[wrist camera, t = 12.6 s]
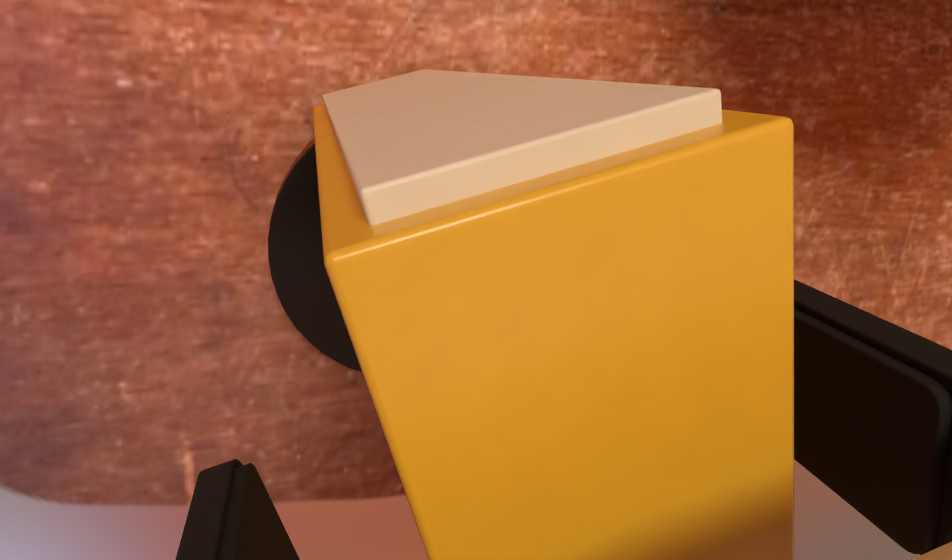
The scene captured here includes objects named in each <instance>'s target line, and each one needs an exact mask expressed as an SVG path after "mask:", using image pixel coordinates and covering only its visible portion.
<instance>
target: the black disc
mask: <svg viewBox="0 0 952 560" xmlns="http://www.w3.org/2000/svg"><path fill="white" fill-rule="evenodd" d="M268 255H269V264H270V270H271V276H272V280H273V283H274V286H275V289H276V292H277V295H278V297H279V300H280V302H281V304H282V306H283V308H284V310H285V312H286V313H287V315H288V316H289V318H290V319H291V321H292V322H293V324H294V325H295V327H296V328H297V329H298V330H299V331H300V332H301V333H302V334H303V336H304V337H305V338H306V339H307V340H308V341H309V342H310V343H312V344H313V345H314V346H315V347H316V348H317V349H319V350H320V351H321V352H323V353H324V354H326V355H327V356H329V357H330V358H332V359H333V360H335V361H337V362H339V363H341V364H343V365H345V366H347V367H349V368H352V369H355V370H358V371H361V372H362V369H361V367H360V364H359V361H358V358H357V355H356V352H355V350H354V347H353V344H352V341H351V338H350V336H349V333H348V330H347V327H346V324H345V321H344V319H343V316H342V313H341V310H340V307H339V305H338V302H337V299H336V296H335V293H334V290H333V288H332V285H331V282H330V279H329V276H328V273H327V271H326V268H325V265H324V255H323V242H322V229H321V216H320V203H319V189H318V176H317V163H316V150H315V139H313V140H312V141H311V142H310V143H309V144H308V145H307V146H306V147H305V149H304V150H303V151H302V152H301V154H300V155H299V156H298V157H297V158H296V160H295V161H294V163H293V164H292V166H291V168H290V169H289V171H288V172H287V174H286V176H285V178H284V180H283V182H282V185H281V187H280V189H279V192H278V194H277V198H276V201H275V205H274V208H273V212H272V216H271V221H270V229H269V237H268Z"/></svg>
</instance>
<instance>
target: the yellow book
mask: <svg viewBox="0 0 952 560" xmlns="http://www.w3.org/2000/svg"><path fill="white" fill-rule="evenodd" d="M322 98H323V101H324V105H320V106H316V107H314V108H313V123H314V137H315V150H316V163H317V176H318V189H319V203H320V216H321V229H322V242H323V255H324V265H325V268H326V271H327V273H328V276H329V279H330V282H331V285H332V288H333V290H334V293H335V296H336V299H337V302H338V305H339V307H340V310H341V313H342V316H343V319H344V321H345V324H346V327H347V330H348V333H349V336H350V338H351V341H352V344H353V347H354V350H355V352H356V355H357V358H358V361H359V364H360V367H361V369H362V372H363V375H364V378H365V381H366V384H367V386H368V389H369V392H370V395H371V398H372V400H373V403H374V406H375V409H376V412H377V415H378V417H379V420H380V423H381V426H382V429H383V432H384V434H385V437H386V440H387V443H388V446H389V448H390V451H391V454H392V457H393V460H394V463H395V465H396V468H397V471H398V474H399V477H400V479H401V482H402V485H403V488H404V491H405V494H406V496H407V499H408V502H409V505H410V508H411V511H412V513H413V516H414V519H415V522H416V525H417V527H418V530H419V533H420V536H421V539H422V542H423V544H424V547H425V550H426V553H427V556H428V558H429V560H794V125H793V123H792V120H791V119H790V118H788V117H783V116H775V115H766V114H758V113H749V112H740V111H732V110H723V109H722V105H721V92H720V90H719V89H715V88H702V87H686V86H671V85H656V84H641V83H626V82H610V81H595V80H580V79H565V78H550V77H534V76H519V75H504V74H489V73H474V72H458V71H443V70H428V69H422V70H418V71H414V72H410V73H406V74H402V75H398V76H394V77H390V78H386V79H382V80H378V81H375V82H371V83H367V84H363V85H359V86H355V87H351V88H347V89H343V90H339V91H335V92H331V93H327V94H323V95H322Z"/></svg>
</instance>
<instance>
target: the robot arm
mask: <svg viewBox="0 0 952 560" xmlns="http://www.w3.org/2000/svg"><path fill="white" fill-rule="evenodd" d="M794 459H795V460H796V461H797V462H799V463H800V464H801V465H802V466H803V467H805V468H806V469H807V470H808V471H810V472H811V473H812V474H813V475H815V476H816V477H817V478H818V479H819V480H821V481H822V482H823V483H824V484H826V485H827V486H828V487H829V488H830V489H832V490H833V491H834V492H835V493H837V494H838V495H839V496H840V497H841V498H843V499H844V500H845V501H846V502H847V503H849V504H850V505H851V506H852V507H854V508H855V509H856V510H857V511H858V512H860V513H861V514H862V515H863V516H865V517H866V518H867V519H868V520H870V521H871V522H872V523H873V524H874V525H876V526H877V527H878V528H879V529H880V530H882V531H883V532H884V533H885V534H887V535H888V536H889V537H890V538H891V539H893V540H894V541H895V542H896V543H898V544H899V545H900V546H901V547H902V548H904V549H905V550H907V551H908V552H911V553H913V554H920V555H921V556H918V557H916V558H914V559H912V560H952V350H950V349H948V348H946V347H944V346H941V345H939V344H937V343H935V342H932V341H930V340H928V339H926V338H923V337H921V336H919V335H917V334H915V333H912V332H910V331H908V330H906V329H903V328H901V327H899V326H897V325H894V324H892V323H890V322H888V321H886V320H883V319H881V318H879V317H877V316H874V315H872V314H870V313H868V312H866V311H863V310H861V309H859V308H857V307H854V306H852V305H850V304H848V303H845V302H843V301H841V300H839V299H837V298H834V297H832V296H830V295H828V294H825V293H823V292H821V291H819V290H816V289H814V288H812V287H810V286H808V285H805V284H803V283H801V282H799V281H796V280H794ZM176 560H300V559H299V557H298V556H297V553H296V551H295V549H294V547H293V545H292V543H291V540H290V538H289V536H288V534H287V532H286V530H285V528H284V526H283V524H282V522H281V520H280V517H279V515H278V513H277V511H276V509H275V507H274V505H273V503H272V501H271V499H270V497H269V494H268V492H267V490H266V488H265V486H264V484H263V482H262V480H261V478H260V476H259V474H258V471H257V469H256V468H255V466H254V465H253V464H252V463H249V464H247V465H244V466H243V465H242V463H241V462H240V461H239V460H237V459H234V460H231V461H228V462H225V463H223V464H220V465H217V466H214V467H211V468H208V469H205V470H202V471H201V472H200V473H199V476H198V479H197V482H196V486H195V490H194V494H193V497H192V501H191V505H190V508H189V512H188V516H187V520H186V523H185V527H184V531H183V534H182V538H181V542H180V546H179V549H178V553H177V557H176Z"/></svg>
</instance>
